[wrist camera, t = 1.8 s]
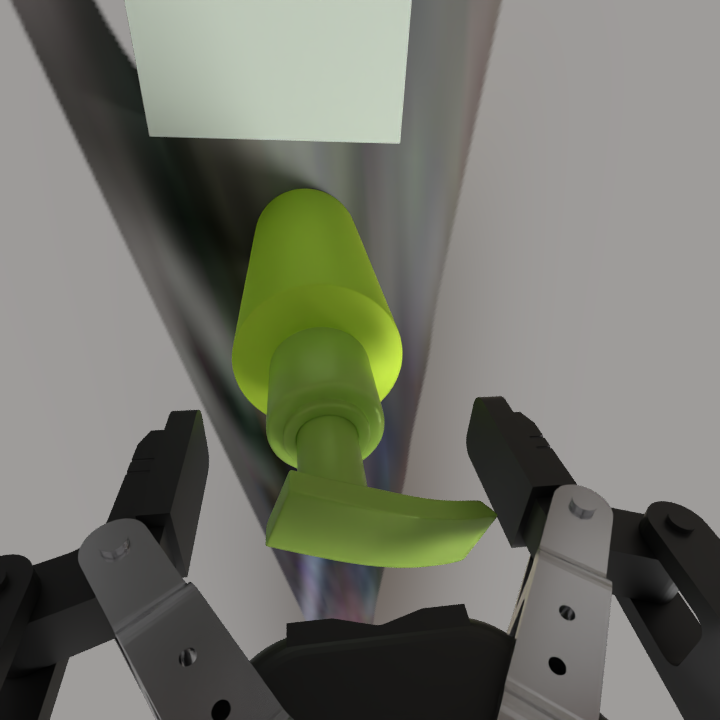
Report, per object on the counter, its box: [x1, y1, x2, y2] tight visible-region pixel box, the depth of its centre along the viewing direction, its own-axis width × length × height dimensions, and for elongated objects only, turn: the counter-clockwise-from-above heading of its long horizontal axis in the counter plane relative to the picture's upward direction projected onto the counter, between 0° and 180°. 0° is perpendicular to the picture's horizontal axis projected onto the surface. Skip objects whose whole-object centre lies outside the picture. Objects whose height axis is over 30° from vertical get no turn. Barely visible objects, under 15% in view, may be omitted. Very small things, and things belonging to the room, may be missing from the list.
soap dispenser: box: [232, 189, 498, 568], centre depth 19 cm, size 6×7×20 cm
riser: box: [124, 0, 412, 143], centre depth 19 cm, size 10×11×4 cm
